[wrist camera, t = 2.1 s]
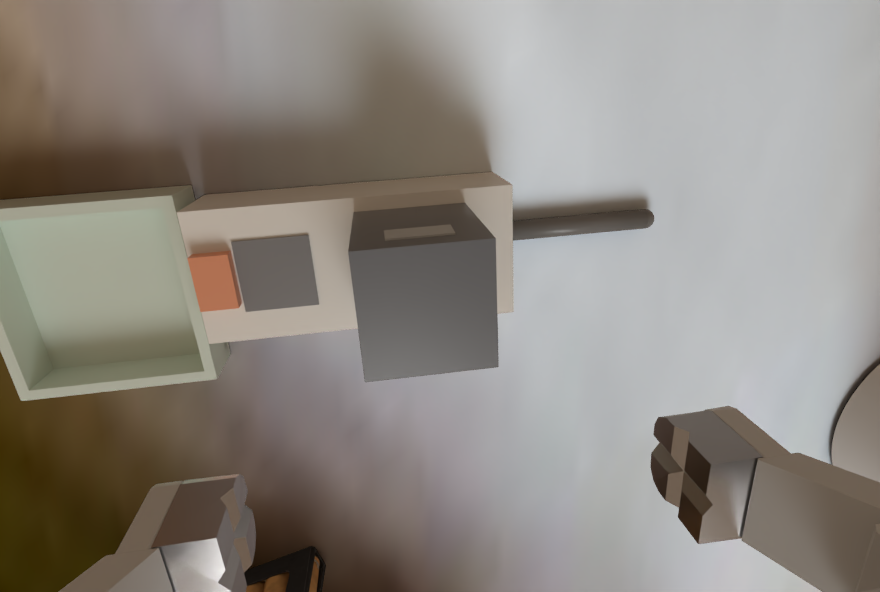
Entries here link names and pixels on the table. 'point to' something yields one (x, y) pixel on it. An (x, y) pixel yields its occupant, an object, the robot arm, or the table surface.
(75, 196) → the parts tray
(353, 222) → the block
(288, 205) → the power strip
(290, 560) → the ammunition clip
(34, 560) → the table surface
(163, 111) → the table surface
